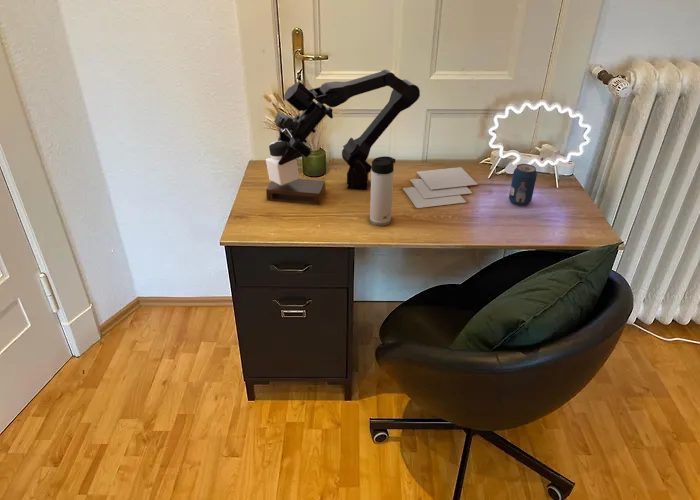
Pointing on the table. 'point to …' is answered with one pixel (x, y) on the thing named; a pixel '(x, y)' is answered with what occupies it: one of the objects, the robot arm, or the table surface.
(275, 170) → the medicine bottle
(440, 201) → the paper stack
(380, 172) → the travel mug
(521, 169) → the soda can
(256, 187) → the table surface
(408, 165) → the table surface
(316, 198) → the brown slotted box
